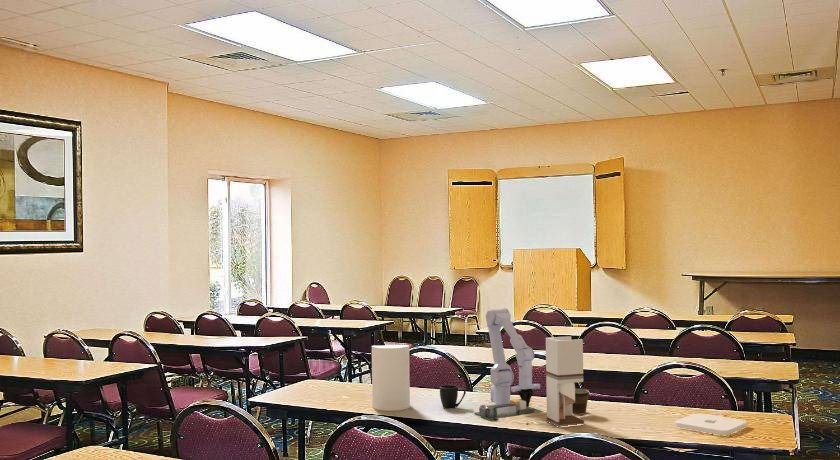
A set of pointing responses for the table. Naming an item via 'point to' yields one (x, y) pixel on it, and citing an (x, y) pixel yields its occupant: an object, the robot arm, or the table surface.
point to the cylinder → (390, 377)
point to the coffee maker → (563, 378)
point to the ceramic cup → (580, 401)
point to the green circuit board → (502, 412)
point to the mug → (450, 396)
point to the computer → (711, 424)
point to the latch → (519, 404)
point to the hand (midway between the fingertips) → (525, 406)
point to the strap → (499, 406)
